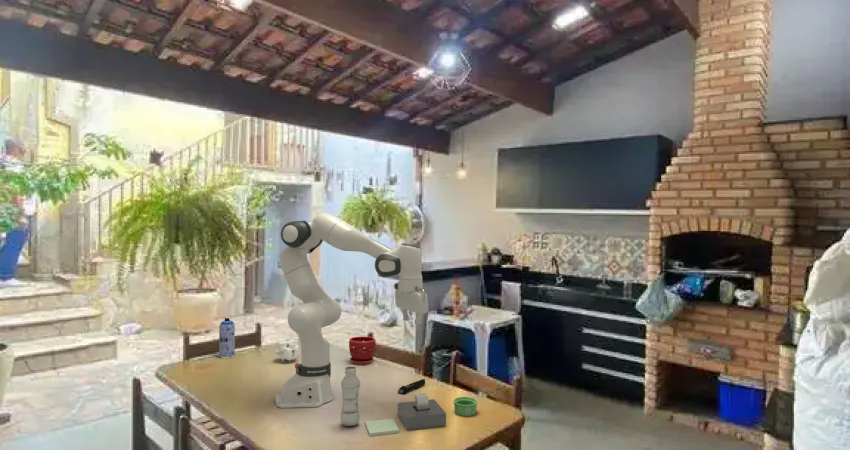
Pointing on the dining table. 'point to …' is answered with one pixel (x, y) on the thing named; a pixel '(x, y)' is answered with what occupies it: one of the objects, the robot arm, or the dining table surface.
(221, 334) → the aerosol can
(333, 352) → the dining table surface
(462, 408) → the ramekin
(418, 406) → the steel peg
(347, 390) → the plastic bottle
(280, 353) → the mechanical part
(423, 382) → the electric trimmer
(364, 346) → the plant pot
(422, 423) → the socket block
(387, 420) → the sage pad
